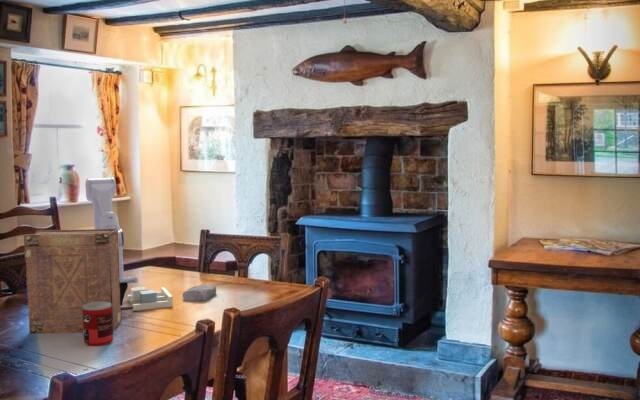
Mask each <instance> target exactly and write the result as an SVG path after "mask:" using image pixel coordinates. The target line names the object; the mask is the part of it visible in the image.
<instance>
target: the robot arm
mask: <svg viewBox="0 0 640 400" xmlns="http://www.w3.org/2000/svg"><path fill="white" fill-rule="evenodd" d="M84 185H85V197H86V201H89V202H91V204H92V207H93V223H94V225H93V227H94V229H117V230H118V252H119V276H120V300H121V307H123V304H124V303H123V302H124V298H125V294H126V292H127V290H128V287H129V284H137V283H139V282H138V281H139V280H138V276H137V275H134V276H125V275H124V274H125V273H124V272H125V271H124V256H123V255H124V252H123V251H124V250H123V247H124V246H125V235H124V231H123V230H122V227H120V222H119V217H118V215H117V213H115V212H114V210H113V203H112V202H113V198H114V197H115V194H116V193H117V182H116V179H115V178H114V177H113V176H111V177H98V178H86V179H85V184H84Z"/></svg>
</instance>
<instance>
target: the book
mask: <svg viewBox="0 0 640 400" xmlns="http://www.w3.org/2000/svg"><path fill="white" fill-rule="evenodd" d="M23 246H24V247H23V248H24V249H23V250H24V262H25V277H26V295H27V296H26V297H27V313H28V329H29V333H30V334H57V333H58V334H63V333H65V334H66V333H84V329H83V309H82V308H83V305H84V304H87V303H91V302H99V301H104V302H110V303H111V305H112V325H113V331H115V330H116V329H117V328H118V327H119V326H120V324H121V323H122V310H121V307H122V306H121V300H120V276H119V252H118V230H117V229H95V228H93V229H46V230H36V231H35V233H34V234H24V235H23Z"/></svg>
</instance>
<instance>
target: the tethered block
mask: <svg viewBox="0 0 640 400" xmlns="http://www.w3.org/2000/svg"><path fill="white" fill-rule="evenodd" d="M157 292H158V291H156V290H155V289H149V290H148V289H147V291H140V304H141V303H150V302H157ZM129 309H133V306H130V305H128V306H121V311H122V310H129Z"/></svg>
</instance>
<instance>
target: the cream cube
mask: <svg viewBox="0 0 640 400" xmlns="http://www.w3.org/2000/svg"><path fill="white" fill-rule="evenodd" d="M147 290H148V288H147V287H146V286H137V287H131V288H130V295H131V300H132V299H140V291H147Z"/></svg>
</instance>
